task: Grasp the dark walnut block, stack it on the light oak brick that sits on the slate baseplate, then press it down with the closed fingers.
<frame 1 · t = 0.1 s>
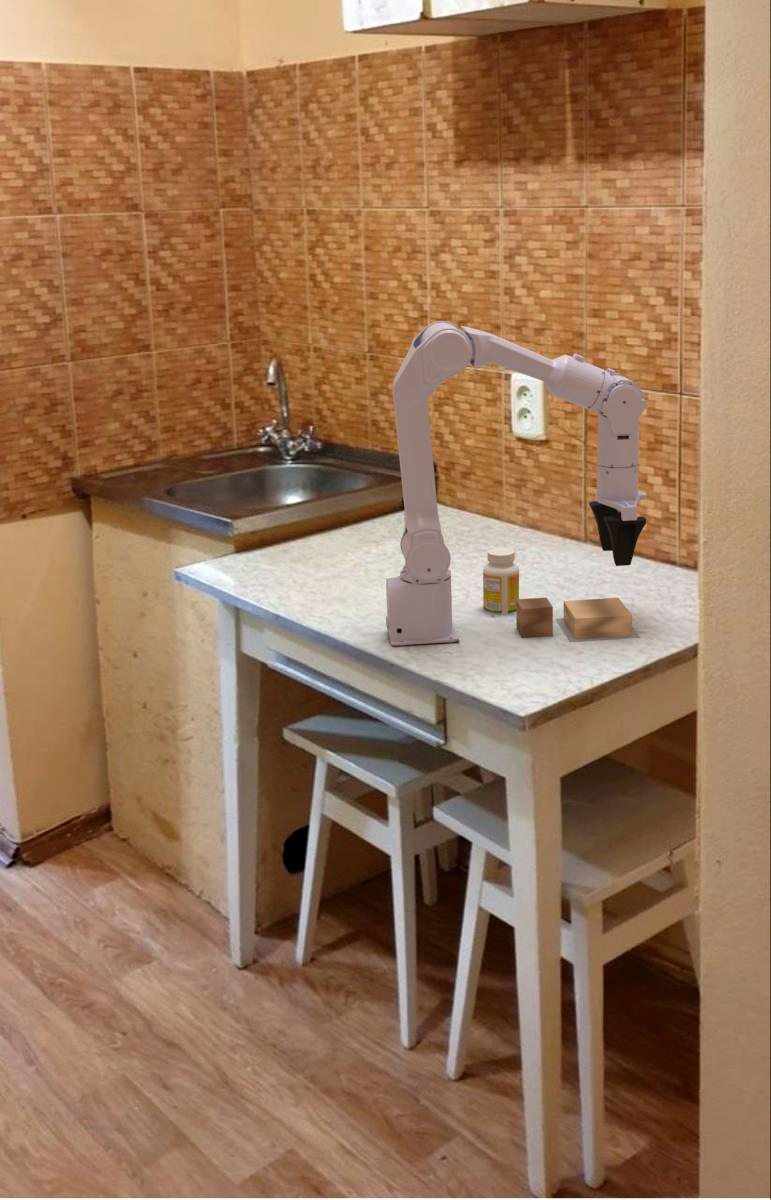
hand: (616, 557, 185), 10 cm above the table, fingers open, 7 cm apart
oak brick: (596, 627, 185), point 1 cm above the table, touching baseplate
walnut block: (534, 636, 184), on the table
supplement bottle: (501, 614, 195), on the table
baseplate: (596, 631, 185), on the table
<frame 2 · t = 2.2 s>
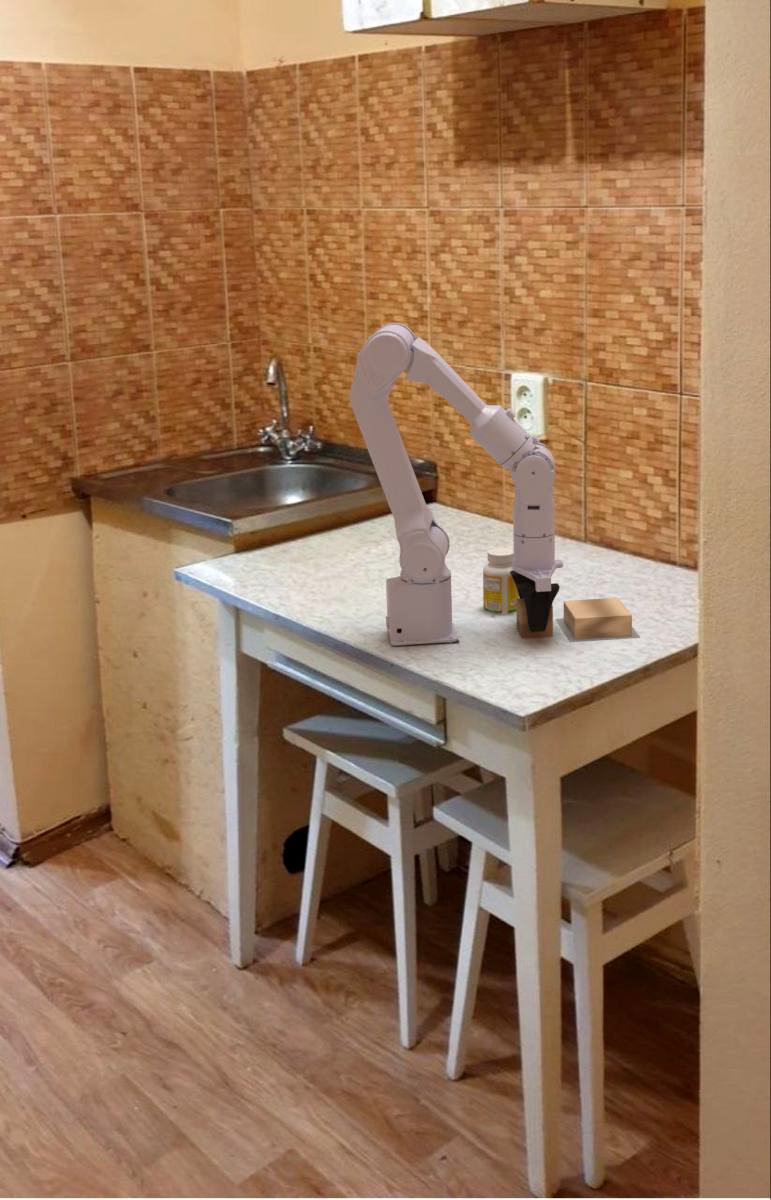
hand: (534, 625, 184), 2 cm above the table, fingers closed on walnut block, 4 cm apart
walnut block: (534, 635, 184), on the table, touching gripper
everything else where it was.
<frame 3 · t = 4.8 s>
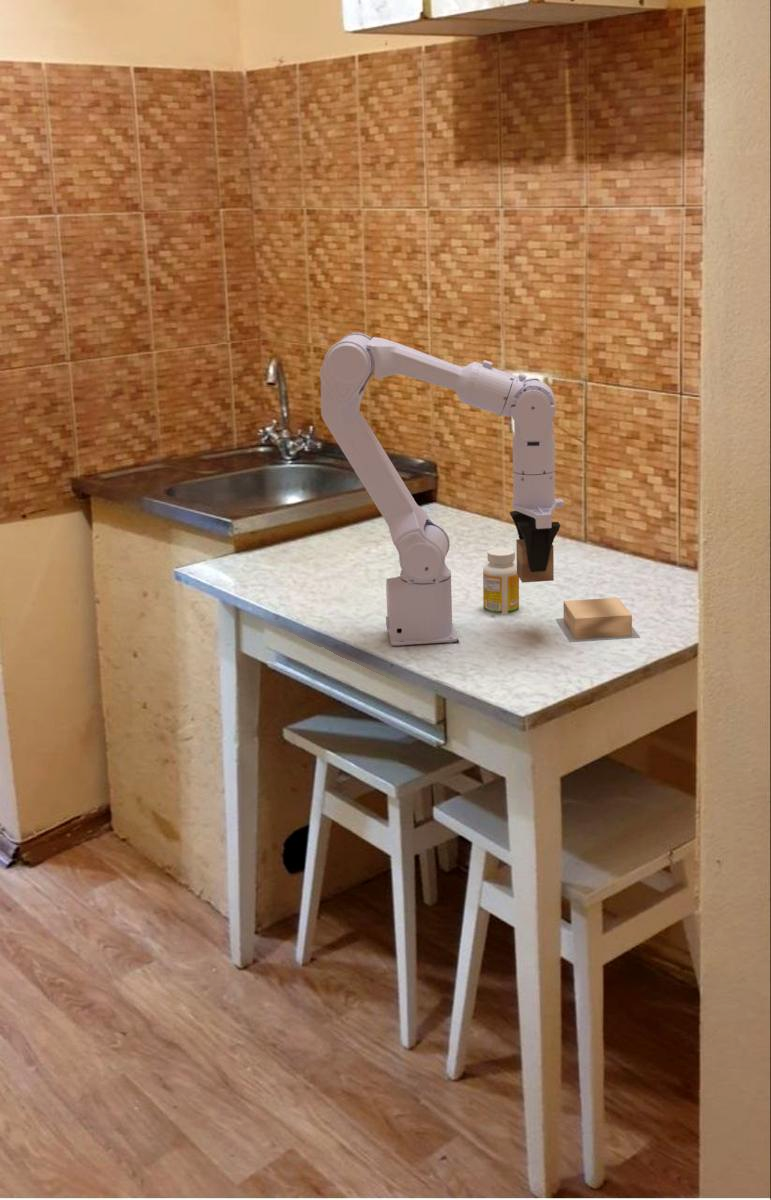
hand: (534, 565, 181), 10 cm above the table, fingers closed on walnut block, 4 cm apart
walnut block: (535, 577, 182), point 9 cm above the table, touching gripper
everything else where it was.
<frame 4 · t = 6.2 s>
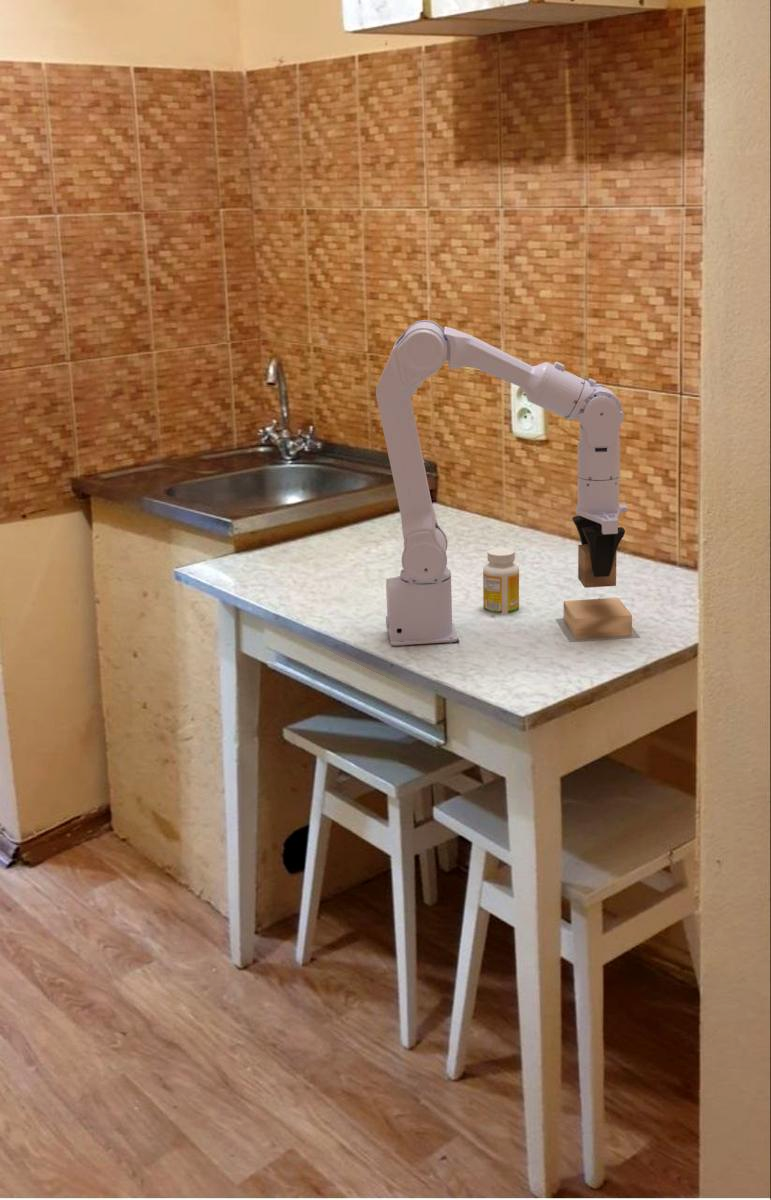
hand: (597, 570, 182), 9 cm above the table, fingers closed on walnut block, 4 cm apart
walnut block: (596, 582, 182), point 7 cm above the table, touching gripper
everything else where it was.
when the fingers open (6 cm above the table, at t = 7.2 s): walnut block stays where it is, resting on oak brick.
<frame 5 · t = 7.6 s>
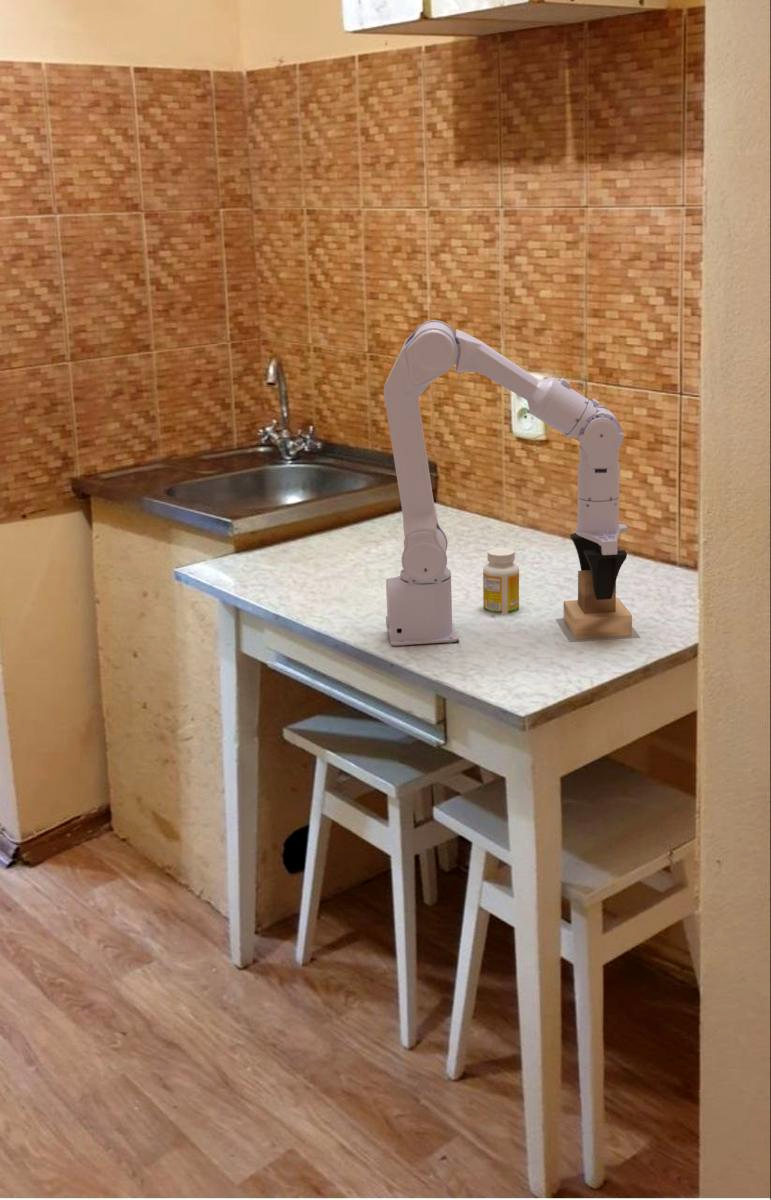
hand: (597, 590, 183), 6 cm above the table, fingers open, 7 cm apart
oak brick: (596, 627, 185), point 1 cm above the table, touching baseplate, walnut block
walnut block: (596, 608, 184), point 4 cm above the table, touching oak brick
everything else where it was.
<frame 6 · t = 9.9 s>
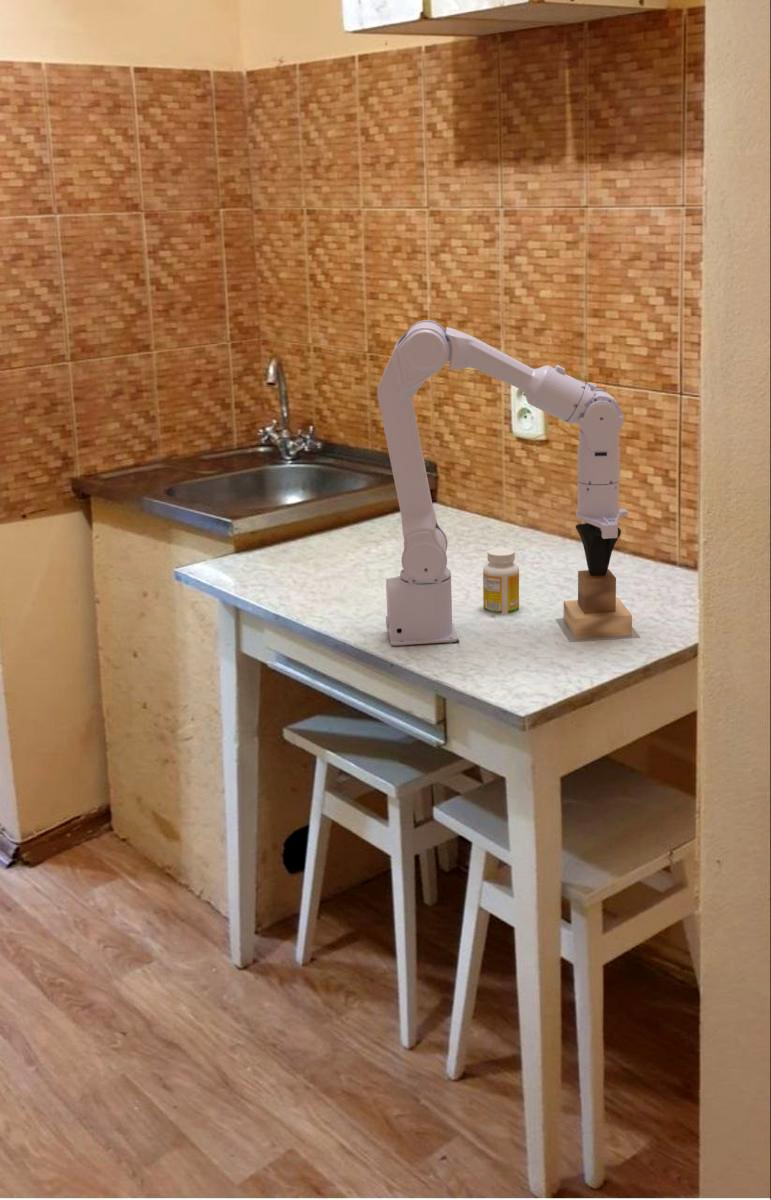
hand: (597, 574, 182), 8 cm above the table, fingers closed, pressing on walnut block
walnut block: (596, 608, 184), point 4 cm above the table, touching gripper, oak brick
everything else where it was.
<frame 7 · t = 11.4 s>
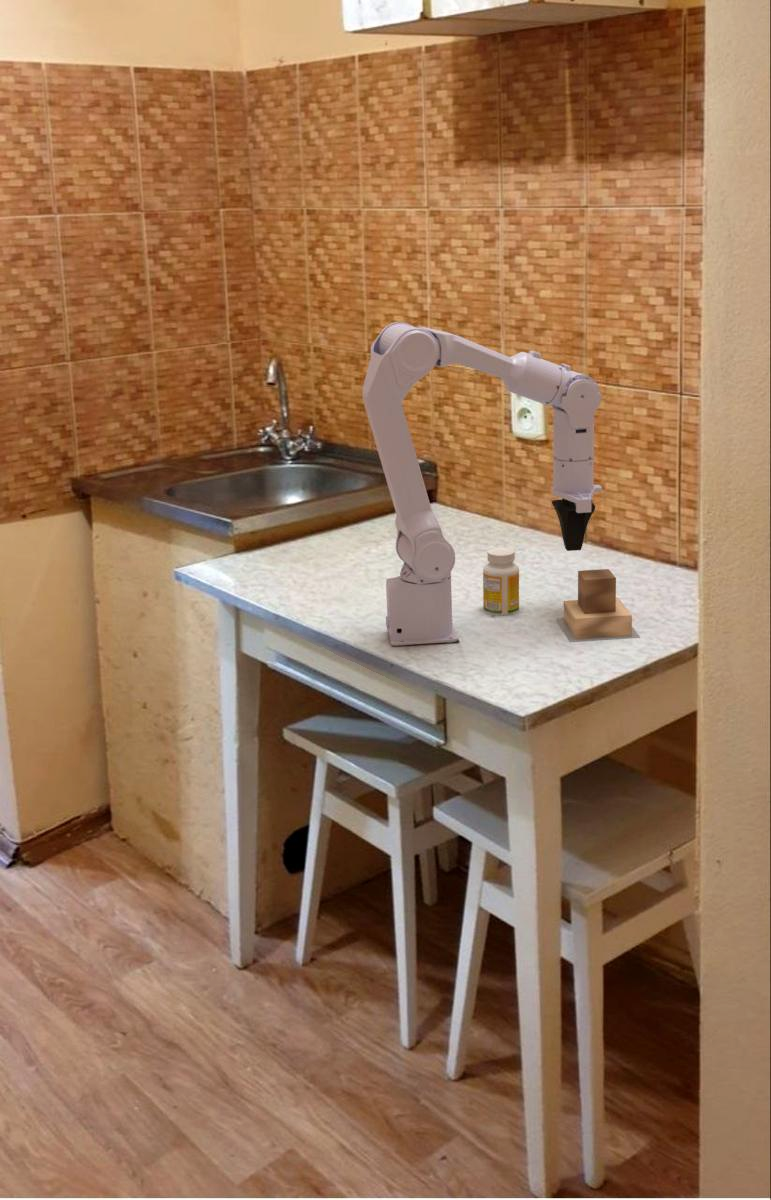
hand: (573, 549, 188), 10 cm above the table, fingers closed
walnut block: (596, 608, 184), point 4 cm above the table, touching oak brick
everything else where it was.
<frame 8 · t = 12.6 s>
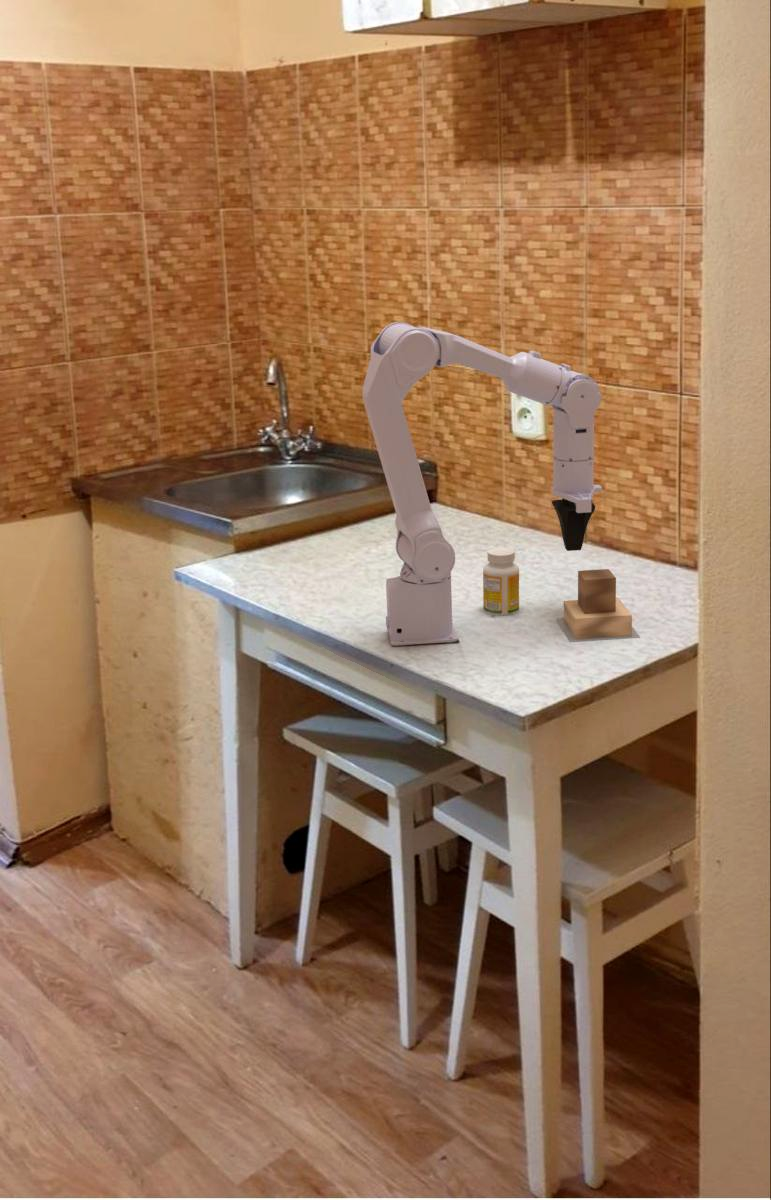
hand: (573, 549, 188), 10 cm above the table, fingers closed
nothing on the table moved.
at the end: walnut block 0.1 cm off-centre on the oak brick, point 3.0 cm above the oak brick's base; walnut block tilted 0°; the gripper is holding nothing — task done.
